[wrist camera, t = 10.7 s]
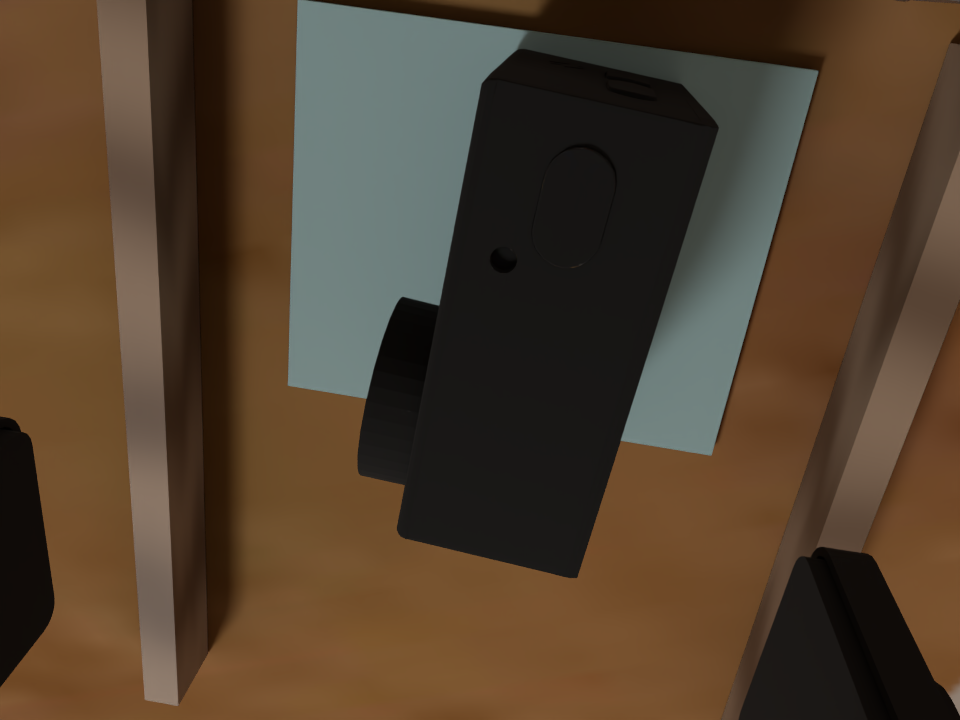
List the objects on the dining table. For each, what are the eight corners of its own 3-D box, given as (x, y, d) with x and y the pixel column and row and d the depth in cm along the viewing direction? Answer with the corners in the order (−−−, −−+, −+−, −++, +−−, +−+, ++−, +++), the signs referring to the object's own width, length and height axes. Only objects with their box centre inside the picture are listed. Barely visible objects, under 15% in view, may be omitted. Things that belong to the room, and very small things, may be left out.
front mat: (301, -2, 21) (297, -1, 21) (815, 69, 21) (818, 71, 20) (291, 381, 26) (287, 385, 26) (710, 450, 25) (711, 455, 25)
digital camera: (469, 31, 21) (417, 54, 15) (683, 78, 21) (723, 122, 14) (405, 391, 25) (343, 528, 19) (580, 432, 25) (576, 584, 19)
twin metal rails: (144, -66, 21) (91, -71, 19) (1001, 49, 20) (1053, 59, 18) (176, 647, 31) (144, 699, 29) (745, 753, 30) (757, 816, 28)
